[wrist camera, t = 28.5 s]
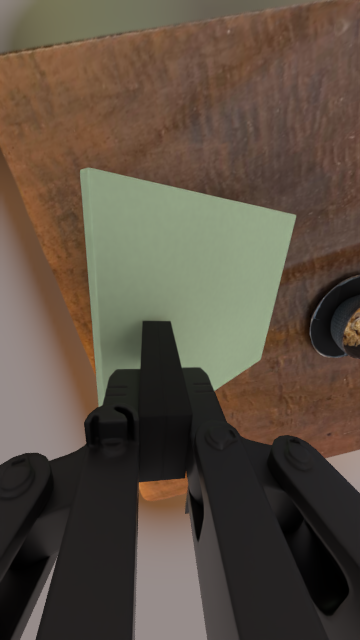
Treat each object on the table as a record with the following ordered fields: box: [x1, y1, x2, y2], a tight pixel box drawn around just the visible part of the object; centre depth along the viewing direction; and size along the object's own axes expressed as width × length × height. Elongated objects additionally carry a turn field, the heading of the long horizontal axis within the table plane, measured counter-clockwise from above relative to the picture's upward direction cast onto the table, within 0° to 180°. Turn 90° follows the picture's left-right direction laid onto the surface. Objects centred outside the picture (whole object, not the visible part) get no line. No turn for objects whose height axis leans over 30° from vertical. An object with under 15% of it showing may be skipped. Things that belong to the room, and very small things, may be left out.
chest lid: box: [80, 168, 296, 407], centre depth 18 cm, size 19×16×1 cm
